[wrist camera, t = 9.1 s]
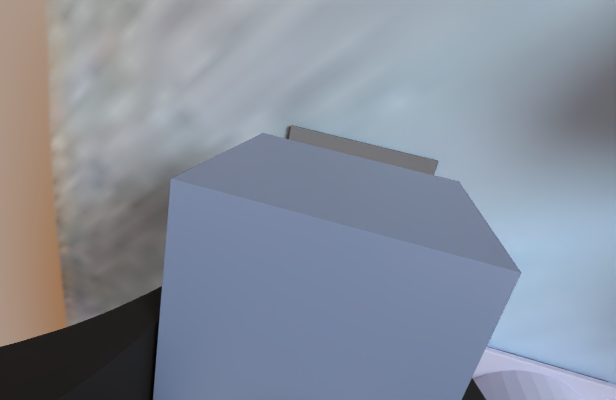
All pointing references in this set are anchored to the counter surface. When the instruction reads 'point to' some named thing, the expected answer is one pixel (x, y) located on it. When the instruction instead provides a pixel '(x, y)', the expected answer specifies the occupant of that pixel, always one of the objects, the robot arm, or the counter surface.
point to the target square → (363, 150)
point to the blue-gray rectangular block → (323, 279)
